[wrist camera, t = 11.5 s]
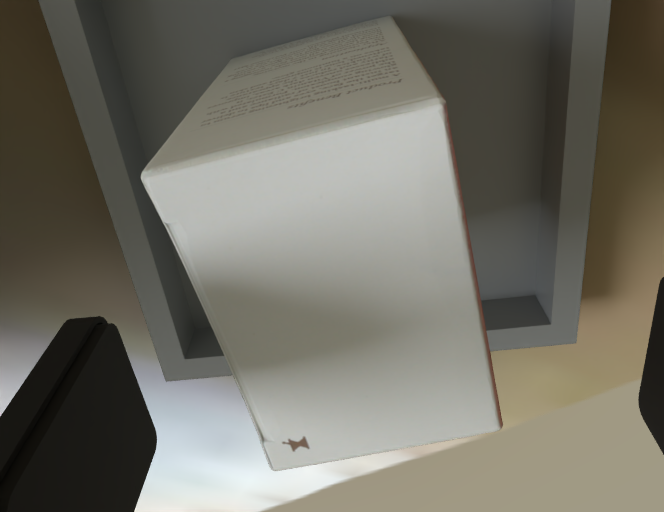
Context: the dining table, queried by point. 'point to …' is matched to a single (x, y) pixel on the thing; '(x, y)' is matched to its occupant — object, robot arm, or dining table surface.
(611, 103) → the dining table surface
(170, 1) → the tray
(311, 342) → the small box
